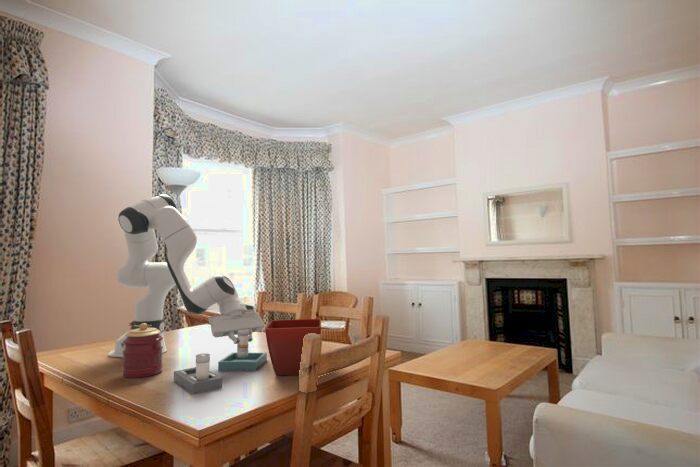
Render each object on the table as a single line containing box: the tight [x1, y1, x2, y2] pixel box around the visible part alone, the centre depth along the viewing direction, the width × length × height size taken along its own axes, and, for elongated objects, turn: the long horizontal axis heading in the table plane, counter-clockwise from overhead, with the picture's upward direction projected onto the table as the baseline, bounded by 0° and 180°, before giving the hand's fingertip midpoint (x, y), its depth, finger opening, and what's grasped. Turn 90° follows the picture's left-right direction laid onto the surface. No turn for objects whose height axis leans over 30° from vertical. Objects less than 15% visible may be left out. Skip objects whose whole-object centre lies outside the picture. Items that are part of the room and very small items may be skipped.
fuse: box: [195, 352, 211, 381], centre depth 126 cm, size 4×4×10 cm
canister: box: [121, 323, 164, 379], centre depth 142 cm, size 13×13×18 cm
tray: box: [217, 352, 268, 372], centre depth 151 cm, size 14×14×3 cm
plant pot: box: [264, 318, 322, 376], centre depth 144 cm, size 19×19×17 cm
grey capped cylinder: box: [236, 329, 249, 358], centre depth 151 cm, size 4×4×10 cm
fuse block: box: [173, 366, 223, 395], centre depth 129 cm, size 18×9×3 cm, turn 41°
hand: (243, 341), depth 150 cm, fingers closed on grey capped cylinder, 4 cm apart
